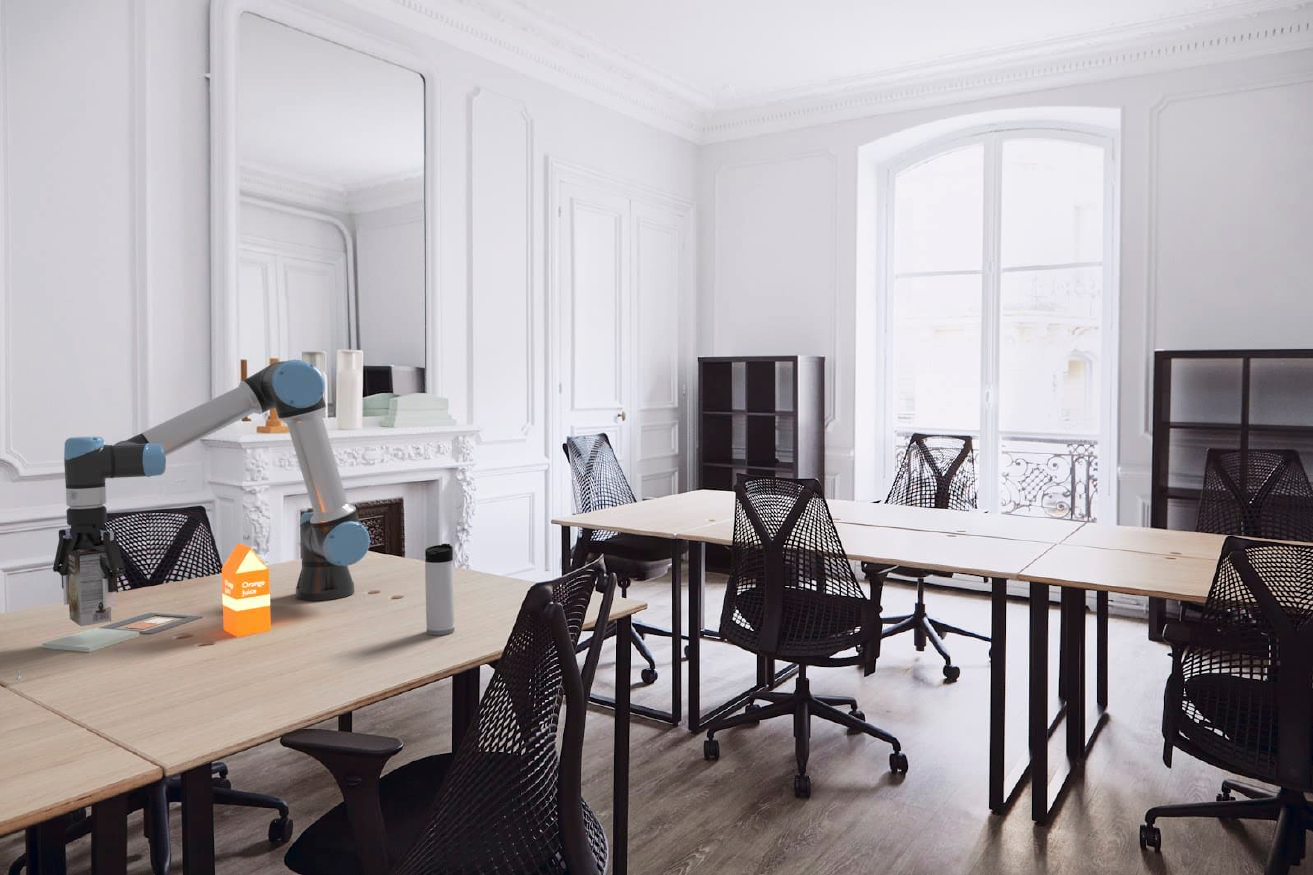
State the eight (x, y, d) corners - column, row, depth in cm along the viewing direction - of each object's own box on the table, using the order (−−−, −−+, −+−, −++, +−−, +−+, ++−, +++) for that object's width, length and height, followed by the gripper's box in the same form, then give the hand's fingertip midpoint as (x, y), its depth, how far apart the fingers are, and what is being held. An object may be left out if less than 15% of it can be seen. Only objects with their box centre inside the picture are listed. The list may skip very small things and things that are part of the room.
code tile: (202, 617, 221) (202, 616, 221) (151, 634, 207) (151, 633, 207) (149, 613, 226) (149, 612, 226) (96, 629, 211) (96, 628, 211)
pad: (139, 636, 205) (139, 631, 205) (89, 652, 193) (89, 647, 193) (94, 632, 209) (94, 628, 209) (42, 647, 196) (42, 643, 196)
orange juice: (257, 623, 216) (254, 541, 215) (271, 630, 209) (268, 545, 208) (222, 630, 210) (219, 545, 209) (236, 637, 204) (233, 550, 203)
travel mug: (460, 629, 209) (458, 544, 208) (445, 636, 203) (443, 549, 202) (437, 627, 211) (435, 542, 210) (421, 634, 205) (419, 547, 204)
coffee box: (68, 619, 201) (65, 548, 200) (100, 614, 206) (97, 544, 205) (80, 627, 195) (77, 553, 194) (113, 621, 200) (110, 549, 199)
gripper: (30, 506, 199) (34, 605, 200) (113, 510, 192) (116, 612, 194) (61, 502, 206) (65, 598, 207) (142, 505, 200) (145, 604, 201)
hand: (90, 604), depth 200 cm, fingers closed on coffee box, 10 cm apart
